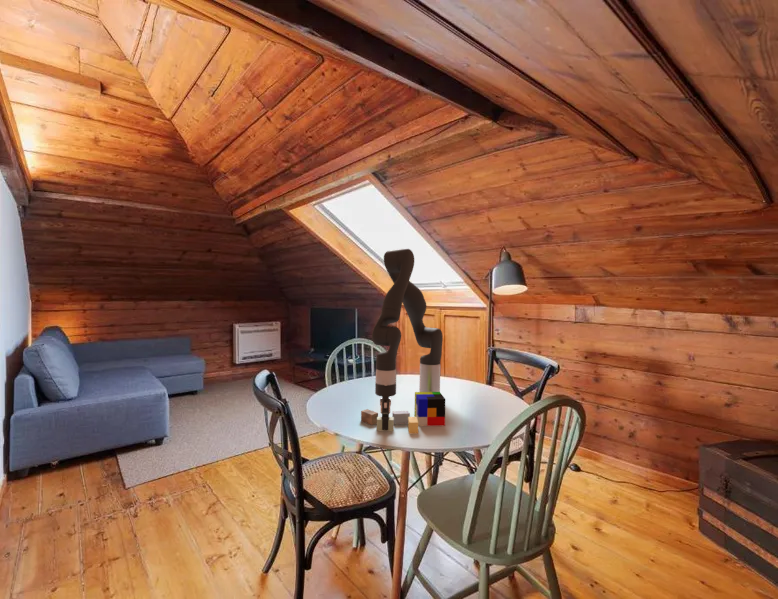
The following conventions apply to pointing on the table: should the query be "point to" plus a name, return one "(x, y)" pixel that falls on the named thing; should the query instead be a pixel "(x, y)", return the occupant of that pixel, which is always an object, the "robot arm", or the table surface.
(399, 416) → the slate brick
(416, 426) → the mustard brick
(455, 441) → the table surface
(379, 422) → the cream brick
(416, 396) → the puzzle toy
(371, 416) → the walnut brick
